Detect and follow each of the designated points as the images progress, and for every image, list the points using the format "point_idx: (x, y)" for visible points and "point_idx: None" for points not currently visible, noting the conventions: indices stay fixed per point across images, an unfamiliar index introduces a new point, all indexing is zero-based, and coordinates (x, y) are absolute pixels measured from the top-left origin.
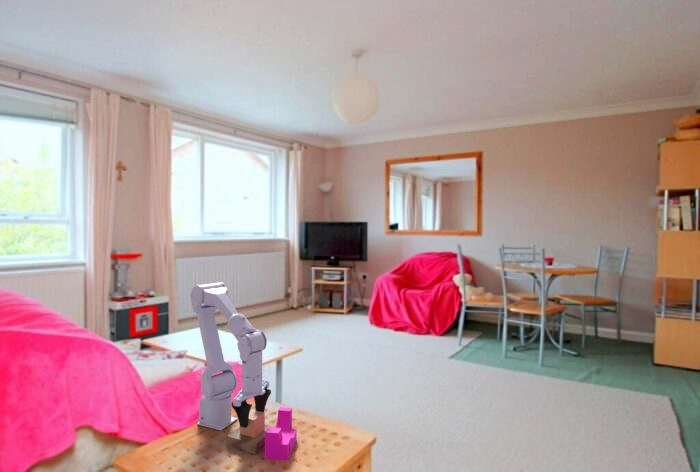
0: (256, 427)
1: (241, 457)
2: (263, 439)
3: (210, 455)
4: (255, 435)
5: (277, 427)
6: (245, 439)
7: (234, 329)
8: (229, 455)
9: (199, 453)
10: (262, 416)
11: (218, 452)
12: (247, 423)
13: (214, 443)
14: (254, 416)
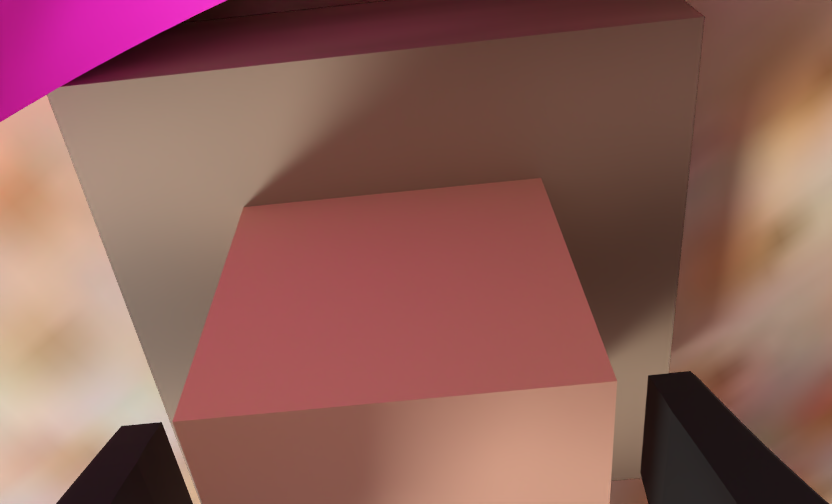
0: (497, 263)
1: (769, 103)
2: (468, 34)
3: (825, 394)
4: (508, 191)
5: (57, 40)
6: (640, 251)
7: None
8: (770, 249)
9: (819, 482)
10: (274, 373)
11: (751, 373)
12: (703, 417)
13: (617, 495)
14: (462, 473)
